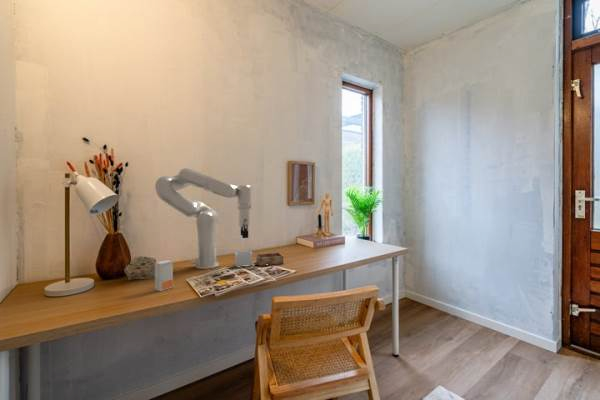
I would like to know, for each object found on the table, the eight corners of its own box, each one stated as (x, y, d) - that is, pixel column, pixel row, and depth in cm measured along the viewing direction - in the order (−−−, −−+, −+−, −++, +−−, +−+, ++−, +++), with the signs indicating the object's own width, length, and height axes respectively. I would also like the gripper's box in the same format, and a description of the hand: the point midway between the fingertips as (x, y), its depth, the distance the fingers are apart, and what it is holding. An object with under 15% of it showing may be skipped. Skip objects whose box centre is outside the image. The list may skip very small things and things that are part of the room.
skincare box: (160, 291, 116) (159, 263, 116) (155, 290, 119) (154, 262, 118) (173, 287, 121) (173, 260, 121) (168, 285, 124) (167, 259, 123)
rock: (162, 279, 137) (157, 261, 134) (129, 291, 129) (123, 272, 127) (157, 265, 154) (152, 249, 151) (127, 276, 146) (122, 259, 144)
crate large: (259, 266, 154) (259, 258, 154) (256, 261, 164) (256, 254, 164) (283, 263, 158) (283, 256, 158) (279, 259, 168) (279, 252, 168)
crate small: (236, 267, 152) (236, 254, 152) (235, 264, 158) (235, 252, 158) (252, 265, 155) (252, 253, 155) (251, 263, 161) (250, 251, 161)
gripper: (236, 206, 163) (236, 234, 164) (239, 207, 147) (239, 239, 147) (249, 205, 165) (249, 234, 166) (253, 207, 149) (253, 238, 149)
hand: (244, 236), depth 157 cm, fingers open, 9 cm apart
